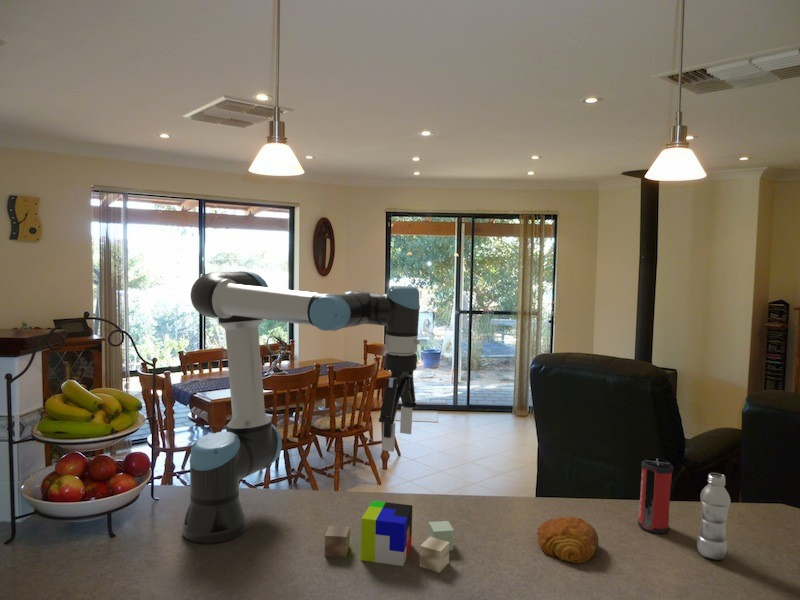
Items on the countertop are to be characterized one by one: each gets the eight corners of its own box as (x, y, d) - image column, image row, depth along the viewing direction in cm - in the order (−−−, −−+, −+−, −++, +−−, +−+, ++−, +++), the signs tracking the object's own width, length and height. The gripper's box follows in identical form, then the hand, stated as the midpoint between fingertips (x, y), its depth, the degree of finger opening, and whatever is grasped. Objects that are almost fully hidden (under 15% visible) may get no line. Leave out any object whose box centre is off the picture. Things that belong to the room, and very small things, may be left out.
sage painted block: (433, 551, 139) (433, 531, 139) (428, 541, 144) (428, 522, 144) (453, 550, 140) (453, 530, 140) (447, 540, 145) (448, 520, 145)
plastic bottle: (723, 552, 143) (729, 472, 141) (728, 565, 136) (735, 482, 135) (694, 547, 145) (699, 468, 143) (698, 560, 139) (704, 478, 137)
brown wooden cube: (324, 556, 136) (325, 535, 135) (328, 545, 141) (329, 525, 140) (345, 557, 135) (346, 536, 135) (349, 546, 140) (349, 526, 140)
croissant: (600, 550, 147) (603, 518, 147) (592, 571, 133) (596, 535, 133) (542, 535, 153) (545, 504, 153) (529, 554, 139) (533, 520, 139)
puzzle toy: (403, 566, 132) (404, 523, 132) (360, 560, 134) (361, 518, 134) (411, 545, 142) (412, 505, 141) (371, 539, 144) (372, 500, 143)
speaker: (670, 536, 150) (675, 468, 149) (638, 531, 153) (642, 464, 151) (667, 524, 157) (672, 459, 156) (637, 518, 160) (641, 454, 159)
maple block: (419, 566, 132) (420, 545, 132) (429, 557, 137) (430, 536, 136) (439, 573, 130) (440, 551, 130) (448, 563, 134) (449, 542, 134)
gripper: (400, 363, 123) (396, 461, 125) (430, 346, 147) (426, 428, 149) (367, 360, 125) (363, 456, 127) (401, 343, 149) (398, 425, 151)
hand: (397, 441), depth 138 cm, fingers open, 13 cm apart
